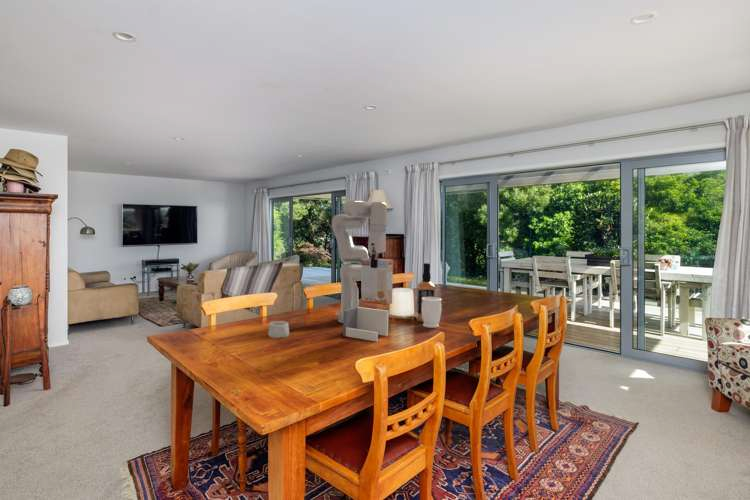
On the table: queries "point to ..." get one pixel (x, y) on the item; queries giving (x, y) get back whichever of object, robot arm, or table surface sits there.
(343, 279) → the robot arm
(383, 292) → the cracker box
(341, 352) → the table surface
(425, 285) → the whiskey bottle
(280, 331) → the grey rounded block
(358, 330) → the shelf nook
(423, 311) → the jar
